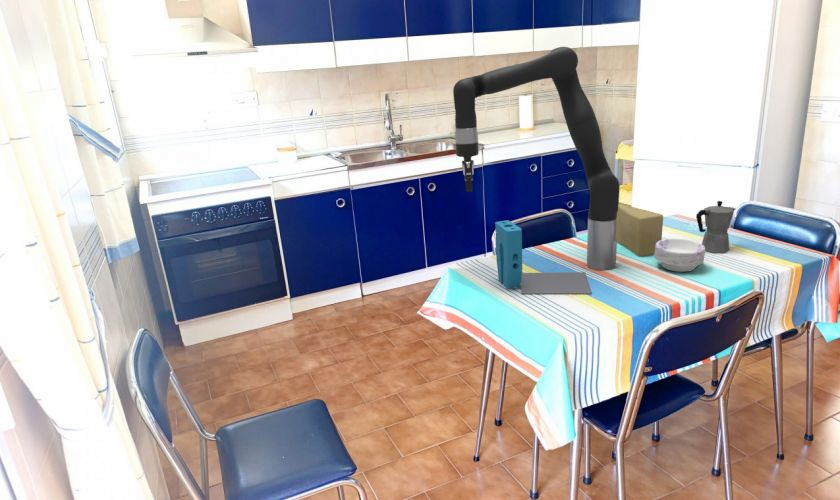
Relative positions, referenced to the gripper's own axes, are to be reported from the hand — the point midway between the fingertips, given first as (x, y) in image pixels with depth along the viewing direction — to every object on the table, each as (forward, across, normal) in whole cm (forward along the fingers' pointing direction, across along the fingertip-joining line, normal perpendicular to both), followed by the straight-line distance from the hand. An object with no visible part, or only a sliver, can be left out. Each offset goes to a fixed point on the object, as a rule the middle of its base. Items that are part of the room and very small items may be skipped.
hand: (469, 188), depth 192 cm
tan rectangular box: (+30, +16, -60) cm, 69 cm away
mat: (+29, -17, -26) cm, 43 cm away
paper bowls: (+30, -8, -69) cm, 76 cm away
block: (+30, -16, -12) cm, 35 cm away
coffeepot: (+30, +8, -87) cm, 92 cm away
